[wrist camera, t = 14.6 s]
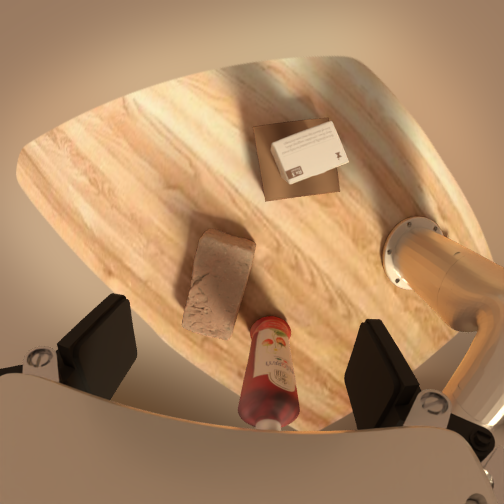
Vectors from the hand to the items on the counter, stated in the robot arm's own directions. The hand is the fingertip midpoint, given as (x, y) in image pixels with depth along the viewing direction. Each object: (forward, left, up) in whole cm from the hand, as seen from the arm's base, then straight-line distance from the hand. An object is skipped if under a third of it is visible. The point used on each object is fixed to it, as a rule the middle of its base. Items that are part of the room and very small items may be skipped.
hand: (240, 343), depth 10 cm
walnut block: (-4, -8, -33) cm, 34 cm away
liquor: (-3, +20, -32) cm, 38 cm away
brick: (+6, +12, -33) cm, 36 cm away
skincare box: (-4, -8, -28) cm, 29 cm away
